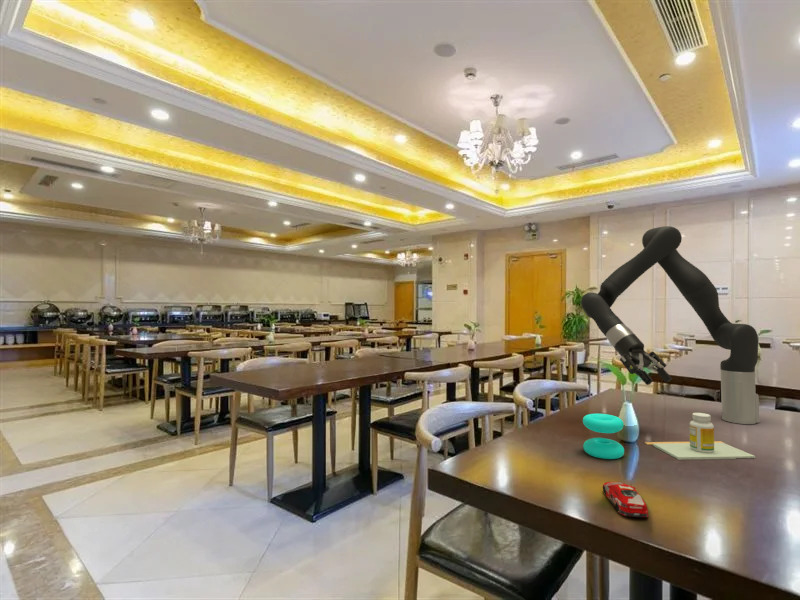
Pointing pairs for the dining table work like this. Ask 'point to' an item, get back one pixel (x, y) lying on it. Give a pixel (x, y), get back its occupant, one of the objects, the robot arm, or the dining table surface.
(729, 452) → the mat
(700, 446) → the supplement bottle
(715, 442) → the strip
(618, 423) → the donuts
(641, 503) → the race car
